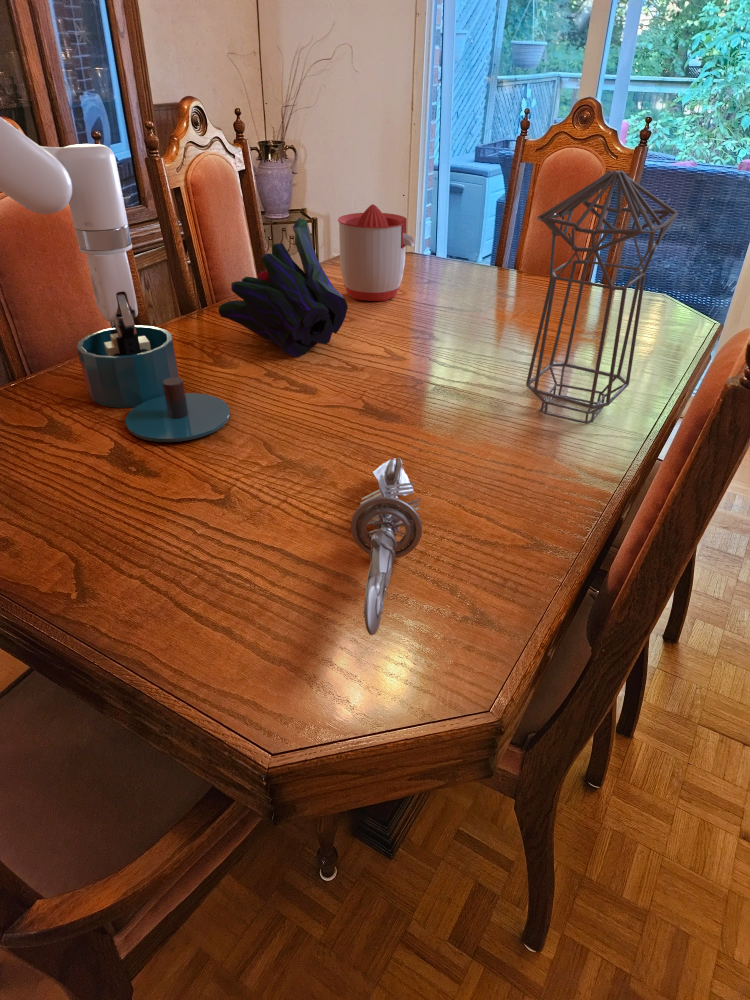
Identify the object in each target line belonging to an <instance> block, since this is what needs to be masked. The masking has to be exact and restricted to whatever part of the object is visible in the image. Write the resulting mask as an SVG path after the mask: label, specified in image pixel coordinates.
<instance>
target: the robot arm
mask: <svg viewBox="0 0 750 1000" xmlns="http://www.w3.org/2000/svg"><path fill="white" fill-rule="evenodd" d="M117 163H118V162H117V159H116V155H115V154H114V152H113V150H112V149H111V148H110V147H109V146H106V145H104V144H96V143H82V144H81V143H80V144H79V143H78V144H70V145H66V146H63V147H62V146H61V147H59V146H58V147H57V146H56V147H55V146H43V145H39V144H38V143H36V142H35V141H33V140H32V139H31V138H29V136H27V135H26V134H24V133H23V132H21V130H19V129H17V128H16V127H15V126H14V125H12V124H11V123H9V122H8V121H6V120H5V119H4V118H3V117H1V116H0V192H2V193H3V194H4V195H5V196H7V197H9V198H10V199H12V200H13V201H15V203H17V204H19V205H21V206H22V207H23V208H25V209H27V210H28V211H31V212H33V213H35V214H39V215H52V214H57V213H60V212H61V211H63V210H64V209H65V208H66V207H67V206H68V207H69V211H70V215H71V220H72V224H73V227H74V232H75V236H76V241H77V244H78V249H79V252H80V253H82V254H85V255H86V259H87V265H88V271H89V276H90V280H91V286H92V290H93V296H94V297H93V298H94V301H95V305H96V308H97V310H98V311H99V313H100V314H101V316H102V317H103V318H104V320H105V321H106V322H109V324H110V328H115V329H111V333H112V334H116V333H117V334H118V337H116V339H117V343H118V348H119V352H120V356H124V355H134V354H138V353H141V350H140V345H139V340H138V335H137V333H136V328H135V325H136V324H135V320H134V319H136V318H137V317H138V315H139V309H138V301H137V296H136V292H135V291H136V290H135V287H134V281H133V277H132V272H131V267H130V263H129V259H128V254H127V252H128V251H130V250H132V248H133V243H132V238H131V233H130V226H129V222H128V216H127V212H126V206H125V200H124V195H123V190H122V184H121V179H120V174H119V169H118V164H117Z"/></svg>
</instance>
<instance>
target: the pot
mask: <svg viewBox="0 0 750 1000" xmlns="http://www.w3.org/2000/svg"><path fill="white" fill-rule="evenodd" d="M135 328H136V333H137V335H138V337H139V336H145V337H146V338H147V339H148V341H149V342H150V347H151V350H150V351H147V352H143V353H138V354H134V355H124V356H108V355H107V354H106V351H105V346H104V342H109V341H111V337H110V334H112V333H111V329H115V328H111V327H110V328H106V329H101V330H99V331H95V332H93V333H90V334H87V335H86V336H84V337H83V338H81V339H80V340H79V341H78V343H77V346H76V351H77V354H78V359H79V363H80V366H81V370H82V374H83V378H84V382H85V385H86V390H87V394H88V395H89V397H90V400H92V402H94V403H96V404H98V405H100V406H103V407H107V408H115V409H131V408H132V409H133V408H135V407H136V406H138V405H140V404H141V403H143V402H146V401H148V400H151V399H154V398H157V397H161V396H165V394H164V389H163V383H162V382H163V380H165V379H167V378H172V377H178V378H180V374H179V368H178V363H177V357H176V350H175V345H174V339H173V334H172V333H171V332H169V331H168V330H166V329H165V328H160V327H157V326H151V325H136V324H135Z"/></svg>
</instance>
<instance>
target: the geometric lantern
mask: <svg viewBox="0 0 750 1000" xmlns="http://www.w3.org/2000/svg"><path fill="white" fill-rule="evenodd" d="M616 184H617V187H616ZM615 187H616V188H617V189H616V190H617V191H616V193H617V194H616V208H614V207H611V206H609V204H610V200H611V198H612V195H613V192H614V189H615ZM608 188H609V189H608ZM607 189H608V191H607ZM606 191H607V195H606V197H605V199H604V203H603V204H600V203H598V201H599V200H600V199H601V197H602V196H603V195H604V193H605V192H606ZM641 193H642V194H643V195H645V196H646V197H647V198H649V199H651V200H652V201H653V202H654V203H656V204H657V205H659V206H660V207H661V208H662V209H652V207H651V206H650V205H649V204H648V202H647V201H646V200H645V198H644V197H643V195H642V194H641ZM596 194H597V195H596ZM595 195H596V196H595ZM622 195H623V197H624V199H625V201H626V204H627V207H625V206H624V207H622ZM594 196H595V197H594ZM593 197H594V199H593V200H592V201H589V200H590V199H591V198H593ZM581 204H582V205H583V206H584V207H585V208H586V209H585V211H584V212H583V213H582V215H580V217H579V218H578V220H577V221H576V222H575V221H572V217H573V214H574V211H575V209H576V208H577V207H579V206H580V205H581ZM596 209H600V210H601V212H600V213H599V211H597V210H596ZM590 212H591V213H592V214H593V215H594V216H595V217H597V218H598V220H597V223H596V226H595V228H594V229H591V228H586V227H581V224H582V223H583V222H584V220H585V219H586V217H587V216H588V215H589V213H590ZM606 212H611V213H614V214H616V215H615V217H614V220H613V223H612V224H611V222H609V221H608V220H607V219H606V218H605V215H606ZM621 212H624V213H630V215H631V218H632V220H633V222H632V225H631V228H627V229H625V228H624V229H623V228H617V227H616V225H617V222H618V219H619V216H620V214H621ZM649 215H650V217H651V219H650V217H649ZM657 215H658V216H657ZM669 215H670V216H669ZM566 216H567V218H566V219H565V217H566ZM667 216H669V217H668V218H667V219H666V220H665V221H664V222H662V221H661V220H662V219H663V218H664V219H665V218H666V217H667ZM678 216H679V213H678V211H677V210H675V209H674V208H672V207H671V206H670V205H668V204H667V203H666V202H664V201H663V200H661V199H660V198H658V197H657V196H656V195H654V194H653V193H652V192H650V191H648V189H646V188H645V187H643V186H642V185H640V184H639V183H637V182H636V181H635V180H633V179H632V178H631V177H629V176H628V175H627V174H626V173H625V171H623V170H617V169H615V170H612V171H611V170H607V171H606V172H605V173H604V174H603V175H601V176H599V178H597V179H596V180H594V181H593V182H591V183H589V184H587V185H586V186H584V187H583V188H581V189H580V190H578V191H577V192H575V193H573V194H572V195H570V196H569V197H566V199H564V200H562V201H560V202H559V203H558V204H556V205H554V206H552V207H550V208H549V209H548V210H546V211H545V212H543V213H541V214H539V215H538V216H537V217H536V219H537V220H539V221H540V222H541V223H544V224H545V226H546V227H547V228H548V229H549V230H550V231H551V235H552V237H551V247H550V260H549V273H548V275H549V282H548V286H547V289H546V290H547V291H546V295H545V300H544V303H543V307H542V312H541V317H540V321H539V325H538V329H537V334H536V339H535V342H534V347H533V351H532V355H531V360H530V365H529V368H528V374H527V378H526V383H525V386H526V387H527V388H528V389H529V390H530V391H531V393H532V394H533V395H535V397H537V398H538V399H539V400H540V401H541V406H540V409H539V412H540V413H542V414H543V415H546V416H551V417H554V418H557V419H558V418H559V419H564V420H568V421H571V422H576V423H580V424H584V425H588V424H592V423H594V422H595V420H596V419H597V417H598V416H599V414H600V413H601V411H602V410H603V409H604V408H605V407H609V406H610V405H611V403H613V402H614V400H616V399H617V398H618V397H619V396H620V395H621V394H622V392H624V391H625V390H626V389H627V387H629V385H630V380H631V374H632V368H633V361H634V354H635V347H636V341H637V336H638V329H639V322H640V315H641V309H642V301H643V296H644V289H645V282H646V276H647V275H646V272H647V270H648V267H649V265H650V262H651V260H652V258H653V255H654V253H655V251H656V249H657V247H658V246H659V245H660V243H661V241H662V240H663V238H664V237H665V235H666V233H667V232H668V230H669V229H670V228H671V226H672V225H673V224H674V222H675V220H676V219H677V217H678ZM640 217H643V219H644V221H645V223H643V224H641V222H640V220H639V218H640ZM559 218H560V219H559ZM602 223H603V224H604V225H605V226H606V227H607V228H606V229H605V228H604V229H603V228H601V226H602ZM654 224H656V225H654ZM558 225H559V227H558ZM563 226H564V227H563ZM569 227H571V233H570V232H568V231H569ZM646 228H649V230H645V229H646ZM657 231H659V232H658V236H657V238H656V240H655V237H656V232H657ZM576 232H579V233H583V234H589V235H591V247H584V246H583V247H581V246H580V247H578V246H577V245H576V244H575V243H576V242H575V239H576V238H575V236H576V235H575V233H576ZM597 234H601V235H602V234H603V235H602V237H601V238H600V239H599V240H598V241H597V243H596V244H595V242H596V241H595V240H596V235H597ZM609 234H611V235H612V234H613V235H620V234H621V235H623V236H621V237H618V238H615V239H614V240H611V241H609V242H606V243H604V244H603V242H604V241H605V239H606V238H607V237H608V235H609ZM641 234H648V235H649V236H648V241H647V248H646V252H645V254H644V255H643V257H642V254H641V251H640V248H639V244H638V241H637V236H639V235H641ZM557 237H561V238H562V239H563V240H564V241H565V243H567V244H568V245H569V247H571V251H573V254H572V255H571V257H570V258H569V259H568V260H567V262H565V263H563V264H561V265H560V266H558V267H556V268H554V263H555V262H554V261H555V250H556V238H557ZM632 238H633V242H634V245H635V249H636V253H637V255H638V259H639V263H638V265H637V266H635V267H634V266H629V265H622V264H614V263H609V262H603V259H602V257H601V255H600V251H603V250H604V249H607V248H610V247H613V246H615V245H617V244H619V243H621V242H624V241H626V240H629V239H632ZM578 253H588V254H587V255H586V257H585V258H584V259H580V256H579V254H578ZM593 254H594V255H595V258H596V260H597V261H594V260H589V259H590V258H591V257H592V255H593ZM575 257H576V259H574V258H575ZM573 259H574V260H573ZM644 262H645V263H644ZM570 264H572V265H571V268H570V273H569V278H567V277H562V276H561V274H562V273H563V272H564V271H565V270H566V269H567V267H568V265H570ZM589 264H592V265H598V266H599V267H600V269H601V272H602V274H603V277H604V279H605V282H606V284H607V285H606V284H602V283H601V284H600V283H595V282H589V281H586V275H587V271H588V266H589ZM577 265H584V266H583V270H582V274H581V279H580V280H579V279H574V276H575V272H576V267H577ZM606 267H612V268H619V269H626V270H633V273H632V274H631V276H630V277H629V279H628V281H626V283H625V285H613V283H612V281H611V279H610V276H609V273H608V272H607V269H606ZM559 270H560V271H559ZM558 271H559V272H558ZM556 272H558V274H556ZM637 272H638V273H637ZM636 274H637V277H635V276H636ZM557 280H559V281H564V282H568V283H567V285H566V286H567V287H566V291H565V296H564V299H563V304H562V309H561V313H560V317H559V322H558V326H557V330H556V335H555V338H554V344H553V348H552V351H551V356H550V360H549V364H548V365H547V366H545V368H543V369H542V365H543V359H544V353H545V347H546V343H547V342H546V341H547V336H548V332H549V331H548V330H549V326H550V319H551V313H552V308H553V301H554V297H555V289H556V285H557ZM573 283H575V284H579V288H578V293H577V297H576V298H577V299H576V303H575V309H574V313H573V319H572V323H571V328H570V333H569V338H568V343H567V348H566V352H565V358H564V362H554V361H555V357H556V353H557V349H558V345H559V340H560V336H561V331H562V328H563V322H564V319H565V315H566V310H567V306H568V301H569V297H570V293H571V290H572V289H571V288H572V284H573ZM633 284H635V287H634V290H633V296H632V301H631V306H630V310H629V315H628V320H627V324H626V329H625V334H624V339H623V344H622V348H621V352H620V358H619V363H618V367H617V372H616V373H615V368H616V362H617V355H618V349H619V342H620V337H621V330H622V323H623V316H624V311H625V304H626V296H627V290H628V288H629V287H630V286H632V285H633ZM585 285H586V286H592V287H596V288H597V287H598V288H603V289H609V291H608V295H607V301H606V307H605V311H604V319H603V323H602V329H601V334H600V341H599V347H598V353H597V356H596V357H597V358H596V362H595V363H596V364H595V368H594V369H593V368H589V367H584V366H581V365H575V364H571V363H568V362H569V358H570V353H571V348H572V344H573V340H574V334H575V330H576V325H577V319H578V314H579V310H580V305H581V300H582V295H583V291H584V286H585ZM614 291H621V297H620V302H619V303H620V304H619V311H618V317H617V322H616V330H615V337H614V342H613V343H614V344H613V348H612V349H613V351H612V357H611V364H610V370H609V372H606V371H602V370H600V368H601V362H602V357H603V351H604V344H605V339H606V335H607V334H606V333H607V328H608V322H609V317H610V311H611V304H612V298H613V292H614ZM636 303H637V305H636ZM635 309H636V311H635ZM634 314H635V316H634ZM634 317H635V318H634ZM633 318H634V324H633V330H632V336H631V337H632V338H631V344H630V352H629V358H628V364H627V372H626V378H623V376H622V375H621V374H622V369H623V365H624V359H625V356H626V351H627V346H628V342H629V337H630V332H631V327H632V323H633ZM542 331H543V333H542ZM541 336H542V338H541ZM540 341H541V344H540ZM539 345H540V350H539V356H538V362H537V368H536V372H535V373H536V374H535V376H534V377H532V376H533V370H534V367H535V362H536V357H537V353H538V349H539ZM554 367H555V368H556V367H561V375H560V381H559V383H558V382H557V378H556V375H555V372H554V370H553V368H554ZM565 368H571V369H574V370H579V371H582V372H588V373H593V374H594V375H593V381H592V387H591V389H590V388H585V387H580V386H575V385H574V386H573V385H569V384H563V382H564V376H565V375H564V374H565ZM547 371H549V372H550V374H551V377H552V380H553V383H554V385H553V386H552V388H550V390H549V391H545V390H541V389H539V388H538V387H539V382H540V377H541V376H543V375H544V374H545V373H547ZM599 375H601V376H606V377H608V383H607V385H606V386H605V387H604V388H603V389H602V390H601V391H600V390H597V384H598V380H599V379H598V378H599ZM617 379H618V380H619V381H620V382H621V383H622V384H621V385H619V386H618V387H615V388H614V389H612V387H613V383H614V382H615V381H616V380H617ZM533 383H534V385H532V384H533ZM557 387H559V390H558V394H556V393H557V392H556V391H557ZM563 387H564V388H567V389H574V390H577V391H584V392H589V393H590V398H589V400H588V399H582V398H577V397H573V396H569V395H565V394H562V389H563ZM605 392H606V393H605ZM613 393H615V394H613ZM596 394H598V396H597V401H595V397H596V396H595V395H596ZM612 394H613V395H612ZM611 395H612V396H611ZM543 396H544V397H543ZM548 398H549V399H548ZM554 399H557V400H560V401H563V402H567V403H571V404H574V405H577V406H579V407H580V406H581V407H584V408H588V409H587V410H584V409H581V408H575V407H571V406H567V405H563V404H559V403H555V402H552V400H554ZM549 406H554V407H558V408H563V409H566V410H569V411H574V412H578V413H583V414H585V418H584V420H581V419H577V418H572V417H568V416H565V415H560V414H556V413H551V412H548V407H549ZM589 415H591V417H590V420H589Z"/></svg>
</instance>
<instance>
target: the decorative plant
mask: <svg viewBox="0 0 750 1000" xmlns="http://www.w3.org/2000/svg"><path fill="white" fill-rule="evenodd" d="M292 230H293V232H294V245H295V247H296V249H297V252H298V255H299V258H300V262H301V266H302V268H303V269H302V268H301V267H300V266H299V265H298V264H297V263H296V261H294V260H293V258H292V257H291V254H290V253H289V252H288V250H287V249H286V247H285V245H284V243H283V242H281V243H280V242H279V243H273V244H272V245H271V253H269V252H268V253H263V255H262V256H261V260H262V262H263V265H264V267H265V269H266V270H265V271H260V272H259V273H258V275H257V277H254V276H244V277H242V279H241V280H239V281H233V282H231V283H230V285H231V286H230V287H231V288H230V289H231V291H232V293H234V294H235V295H237V297H239V298H240V299H242V300H239V299H235V300H230V301H226V302H224V303H222V304H220V305H219V306H218V313H219V316H220V318H223V319H227V320H230V321H232V322H235V323H236V324H238V325H241V326H243V327H244V328H246V329H247V330H249V331H251V332H252V333H253V334H255V335H257V336H259V337H261V338H263V339H265V340H266V341H268V342H270V343H273V344H275V345H277V346H278V347H279V348H280V349H281V350H282V351H283V353H284V354H287V355H290V356H293V357H296V358H300V357H301V356H303V355H306V354H307V353H308V351H309V350H311V349H312V348H313V347H315V346H316V345H317V344H323V345H327V344H328V343H330V342H331V340H332V336H333V333H334V335H335V334H337V333H338V332H339V330H340V329H341V328H342V326H343V324H344V321H345V319H346V316H347V313H348V309H349V305H348V302H347V300H346V298H345V297H344V295H342V294H341V293H340V292H339V291H338V290H337V289H336V288H335V287H334V285H333V284H332V282H331V280H330V278H329V277H328V275H327V273H326V272H325V270H324V269H323V267H322V265H321V263H320V262H319V259H318V257H317V255H316V252H315V249H314V247H313V243H312V239H311V230H310V227H309V224H308V222H307V220H306V219H304V218H303V217H298V219H297V220H295V222H294V224H293V225H292Z"/></svg>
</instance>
